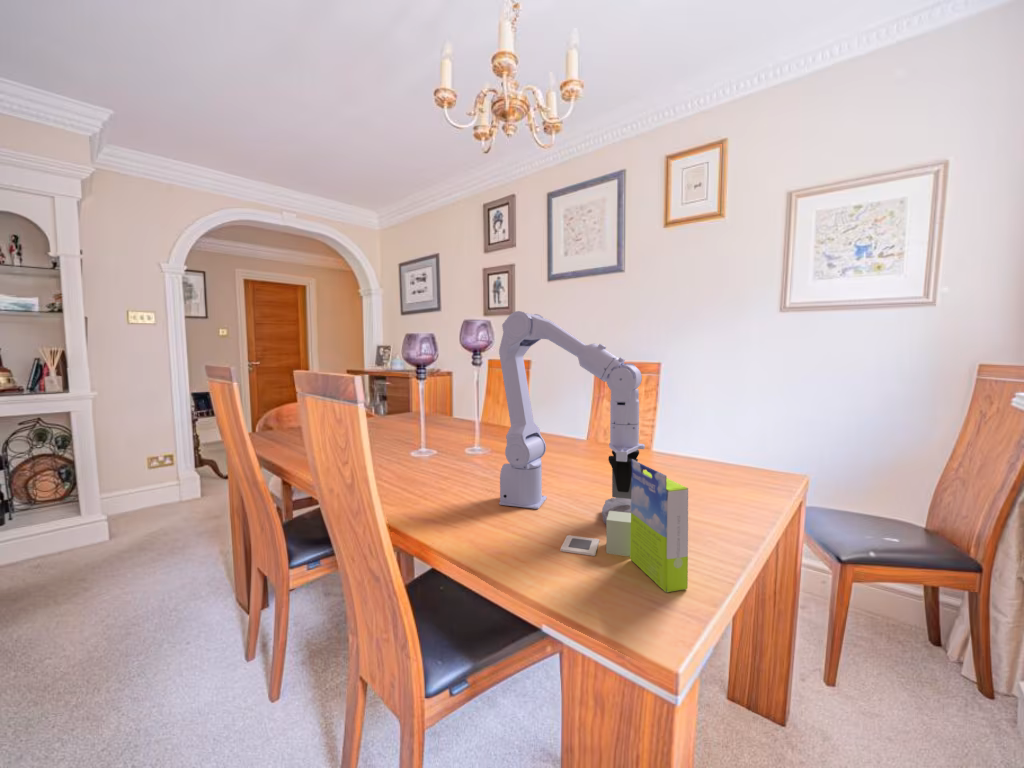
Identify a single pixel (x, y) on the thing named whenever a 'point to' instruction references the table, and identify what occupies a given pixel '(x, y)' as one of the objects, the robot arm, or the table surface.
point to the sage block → (618, 533)
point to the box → (659, 527)
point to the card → (580, 545)
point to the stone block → (616, 506)
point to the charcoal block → (620, 494)
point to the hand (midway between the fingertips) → (624, 487)
